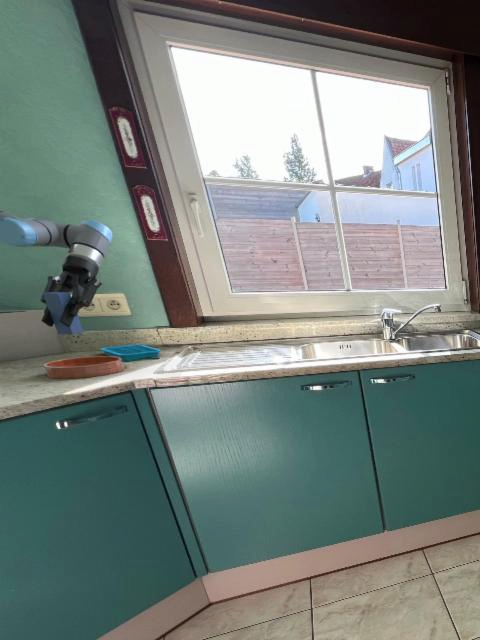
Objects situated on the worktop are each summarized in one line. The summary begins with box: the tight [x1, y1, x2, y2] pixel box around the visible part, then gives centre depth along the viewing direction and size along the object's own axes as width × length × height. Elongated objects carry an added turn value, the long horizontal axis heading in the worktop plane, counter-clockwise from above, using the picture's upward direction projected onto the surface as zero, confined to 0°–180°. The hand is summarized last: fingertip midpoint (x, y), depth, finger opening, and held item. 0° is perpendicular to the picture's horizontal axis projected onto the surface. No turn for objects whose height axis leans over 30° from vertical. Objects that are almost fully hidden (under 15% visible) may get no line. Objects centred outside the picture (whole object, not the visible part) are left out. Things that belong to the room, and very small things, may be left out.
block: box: [42, 292, 85, 335], centre depth 148 cm, size 4×4×12 cm
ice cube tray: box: [99, 344, 162, 362], centre depth 177 cm, size 12×20×3 cm, turn 59°
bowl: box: [42, 355, 126, 380], centre depth 153 cm, size 17×17×4 cm
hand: (55, 323), depth 146 cm, fingers closed on block, 4 cm apart
